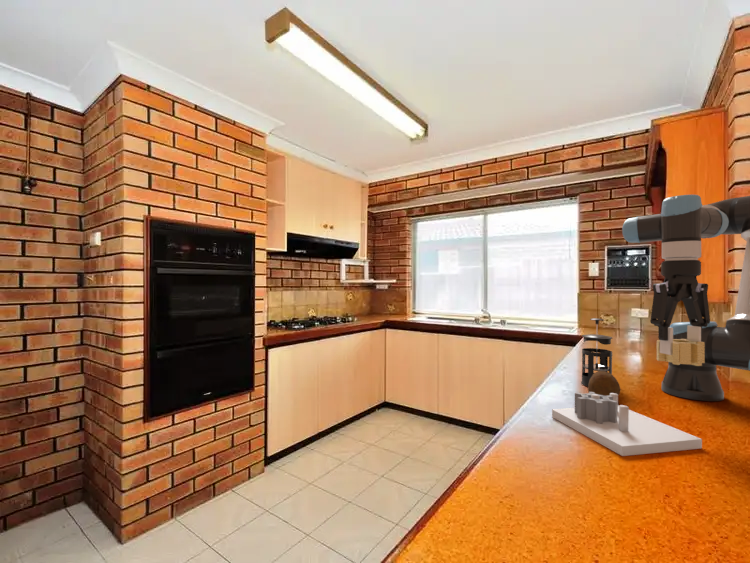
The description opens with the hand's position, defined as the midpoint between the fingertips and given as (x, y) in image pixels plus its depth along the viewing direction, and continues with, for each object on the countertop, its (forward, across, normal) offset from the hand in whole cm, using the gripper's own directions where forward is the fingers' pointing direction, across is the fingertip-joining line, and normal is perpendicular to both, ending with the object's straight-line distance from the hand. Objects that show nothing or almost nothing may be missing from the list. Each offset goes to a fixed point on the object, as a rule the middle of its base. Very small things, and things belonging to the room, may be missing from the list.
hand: (680, 353), depth 91 cm
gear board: (+18, +16, -1) cm, 25 cm away
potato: (+19, +1, -22) cm, 29 cm away
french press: (+19, -9, -36) cm, 41 cm away
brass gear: (+2, 0, 0) cm, 2 cm away
